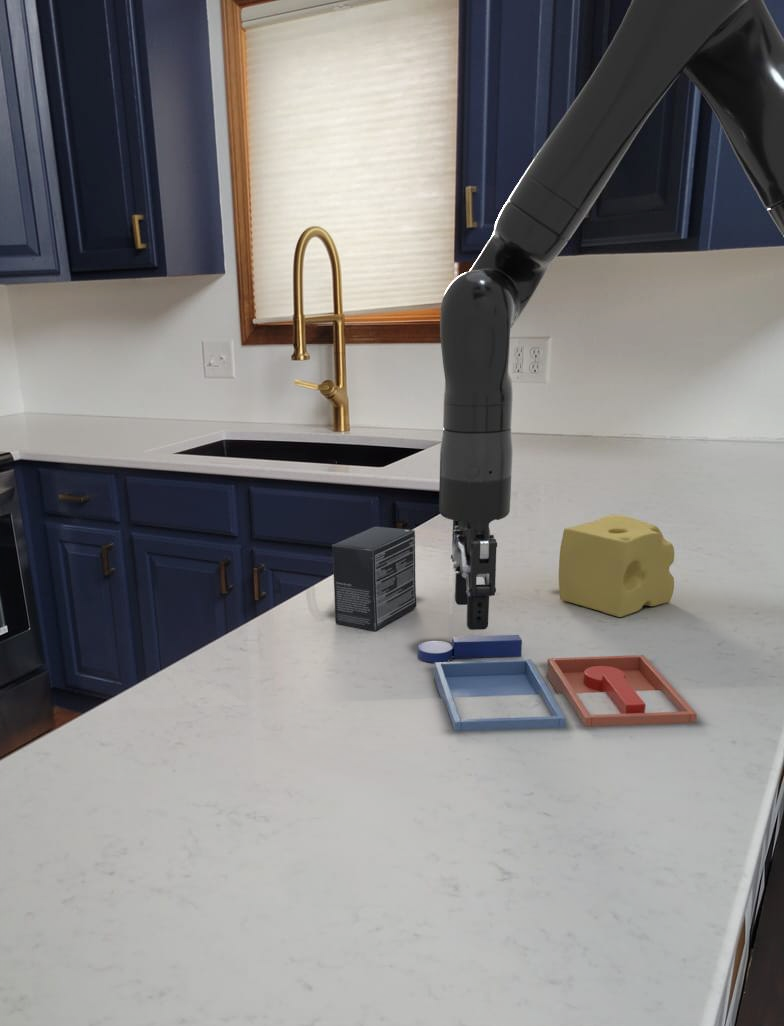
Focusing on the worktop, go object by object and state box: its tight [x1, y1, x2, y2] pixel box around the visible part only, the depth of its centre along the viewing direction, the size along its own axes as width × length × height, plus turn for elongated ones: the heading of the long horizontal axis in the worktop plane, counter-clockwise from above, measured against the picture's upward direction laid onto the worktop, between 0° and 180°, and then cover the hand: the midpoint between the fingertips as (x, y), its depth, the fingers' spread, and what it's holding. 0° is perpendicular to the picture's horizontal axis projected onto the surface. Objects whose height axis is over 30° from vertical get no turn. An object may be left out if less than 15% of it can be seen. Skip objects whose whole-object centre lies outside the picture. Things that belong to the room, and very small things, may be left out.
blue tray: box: [434, 658, 567, 732], centre depth 95 cm, size 10×15×2 cm
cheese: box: [558, 513, 675, 618], centre depth 123 cm, size 10×11×10 cm
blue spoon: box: [417, 634, 523, 664], centre depth 108 cm, size 12×4×2 cm, turn 90°
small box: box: [331, 525, 417, 632], centre depth 121 cm, size 11×6×10 cm, turn 145°
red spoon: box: [584, 666, 646, 714], centre depth 95 cm, size 12×4×2 cm, turn 0°
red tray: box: [546, 654, 697, 727], centre depth 95 cm, size 10×15×2 cm
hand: (470, 615), depth 107 cm, fingers open, 8 cm apart
